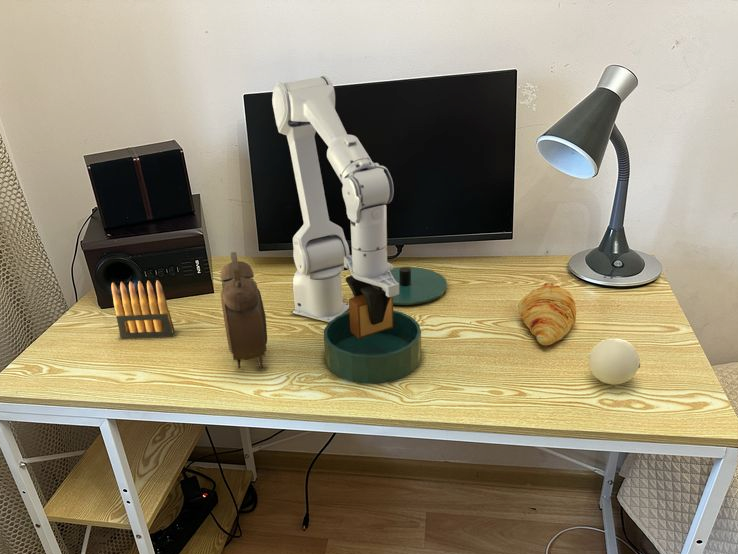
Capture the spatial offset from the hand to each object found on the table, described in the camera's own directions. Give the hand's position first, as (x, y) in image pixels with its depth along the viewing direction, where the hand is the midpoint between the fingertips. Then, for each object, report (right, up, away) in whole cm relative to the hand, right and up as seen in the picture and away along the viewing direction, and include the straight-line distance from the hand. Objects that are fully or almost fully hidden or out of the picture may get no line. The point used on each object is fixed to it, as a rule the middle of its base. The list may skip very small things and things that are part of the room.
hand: (371, 318), depth 110 cm
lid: (+10, +8, +26) cm, 29 cm away
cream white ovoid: (+38, -10, -6) cm, 40 cm away
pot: (+1, -7, +4) cm, 8 cm away
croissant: (+34, 0, +10) cm, 35 cm away
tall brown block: (0, -2, +1) cm, 2 cm away
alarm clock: (-22, -7, +8) cm, 24 cm away
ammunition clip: (-43, -3, +18) cm, 47 cm away
